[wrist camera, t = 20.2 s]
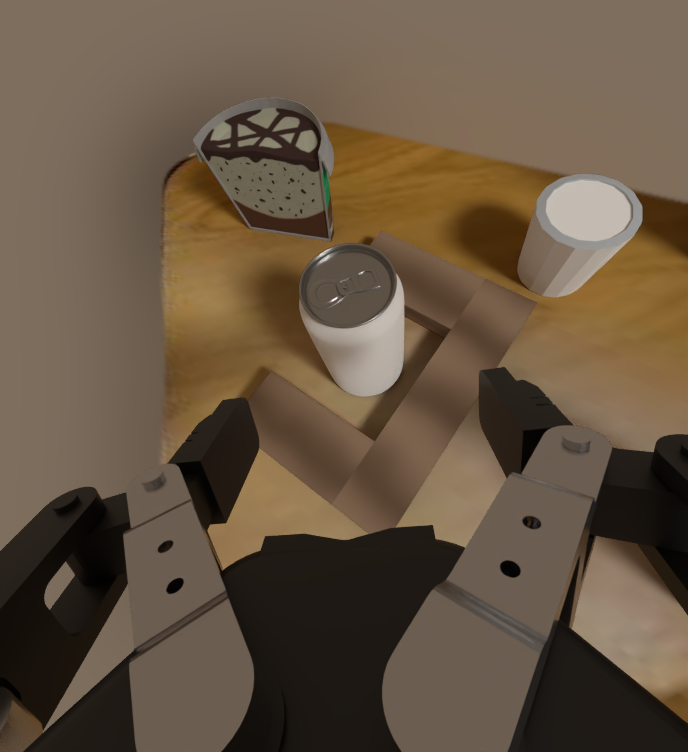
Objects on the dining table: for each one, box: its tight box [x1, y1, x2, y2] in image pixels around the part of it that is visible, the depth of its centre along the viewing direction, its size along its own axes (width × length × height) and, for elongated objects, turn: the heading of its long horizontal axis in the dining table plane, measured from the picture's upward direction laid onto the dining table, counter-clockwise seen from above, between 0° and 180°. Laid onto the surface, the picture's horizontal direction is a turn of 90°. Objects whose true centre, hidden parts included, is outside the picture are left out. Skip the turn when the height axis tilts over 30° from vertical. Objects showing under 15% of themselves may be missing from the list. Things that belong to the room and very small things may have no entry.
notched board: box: [248, 231, 537, 534], centre depth 30 cm, size 22×15×2 cm
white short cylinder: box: [517, 174, 642, 297], centre depth 29 cm, size 7×7×7 cm
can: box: [299, 243, 404, 396], centre depth 26 cm, size 6×6×12 cm
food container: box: [193, 97, 334, 242], centre depth 34 cm, size 12×6×10 cm, turn 73°
